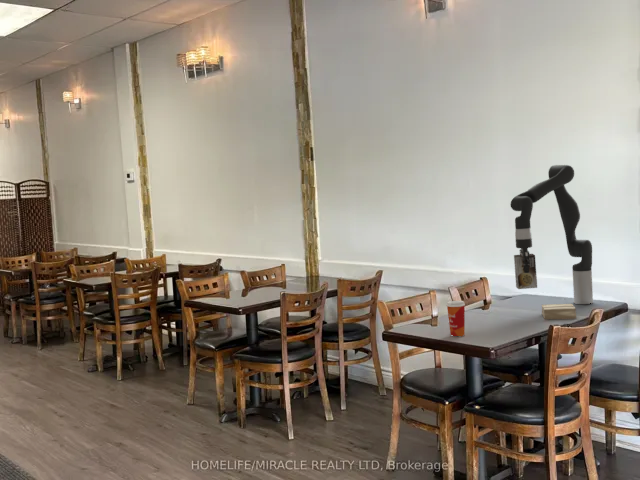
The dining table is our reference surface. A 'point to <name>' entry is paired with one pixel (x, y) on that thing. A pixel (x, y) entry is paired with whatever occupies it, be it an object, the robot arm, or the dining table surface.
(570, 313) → the birch block
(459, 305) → the coffee cup
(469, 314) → the dining table surface
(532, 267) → the coffee box
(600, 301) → the dining table surface
